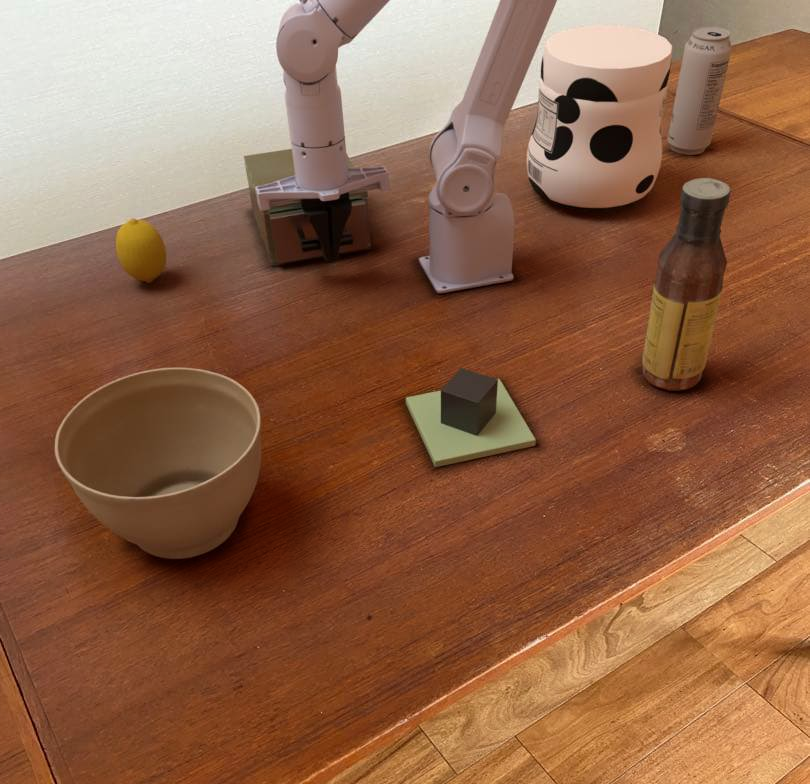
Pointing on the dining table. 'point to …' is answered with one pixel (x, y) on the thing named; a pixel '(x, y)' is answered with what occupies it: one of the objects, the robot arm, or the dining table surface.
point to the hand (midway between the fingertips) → (330, 258)
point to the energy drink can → (699, 90)
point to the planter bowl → (164, 458)
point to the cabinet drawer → (314, 234)
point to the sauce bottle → (687, 289)
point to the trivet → (460, 446)
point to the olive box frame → (274, 169)
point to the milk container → (599, 117)
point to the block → (468, 401)
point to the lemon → (141, 250)
